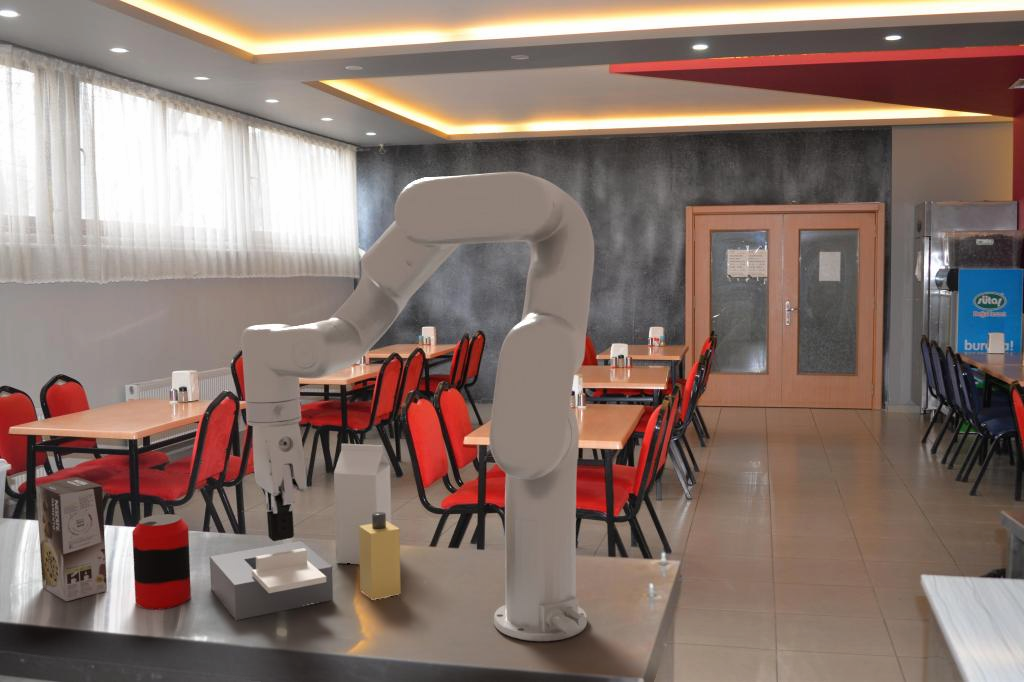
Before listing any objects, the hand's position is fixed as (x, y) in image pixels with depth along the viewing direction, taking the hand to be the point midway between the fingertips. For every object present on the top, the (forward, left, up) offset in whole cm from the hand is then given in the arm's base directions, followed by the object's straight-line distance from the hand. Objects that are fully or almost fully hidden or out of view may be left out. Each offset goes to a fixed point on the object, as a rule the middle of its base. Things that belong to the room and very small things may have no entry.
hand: (281, 537), depth 135 cm
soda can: (+10, +15, -10) cm, 20 cm away
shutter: (-5, +1, -5) cm, 7 cm away
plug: (-4, -13, -10) cm, 17 cm away
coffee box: (+22, +25, -10) cm, 35 cm away
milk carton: (+12, -17, -10) cm, 23 cm away
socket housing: (+4, +1, -10) cm, 10 cm away
